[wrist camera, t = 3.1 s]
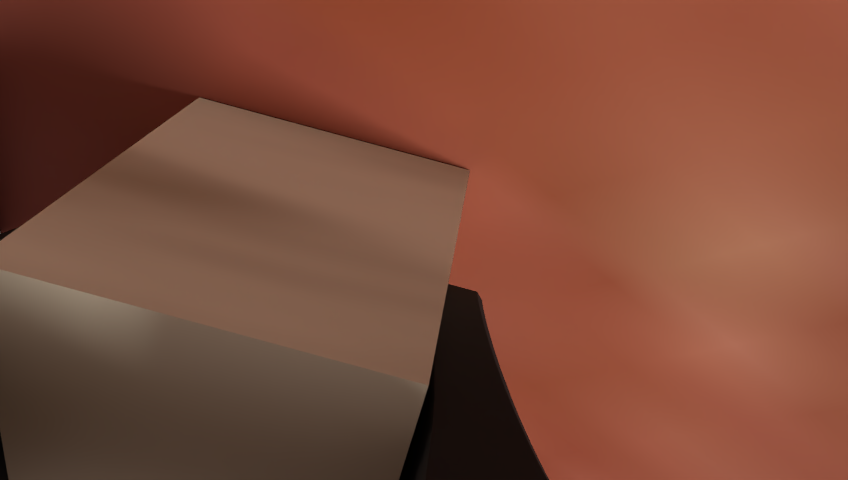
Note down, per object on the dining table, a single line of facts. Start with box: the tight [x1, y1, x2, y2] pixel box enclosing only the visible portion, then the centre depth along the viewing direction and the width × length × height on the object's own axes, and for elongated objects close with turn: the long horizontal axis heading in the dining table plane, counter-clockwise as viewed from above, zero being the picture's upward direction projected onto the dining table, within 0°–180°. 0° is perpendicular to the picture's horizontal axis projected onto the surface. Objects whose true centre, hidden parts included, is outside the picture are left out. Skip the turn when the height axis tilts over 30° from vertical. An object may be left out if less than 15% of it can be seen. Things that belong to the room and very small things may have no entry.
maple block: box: [0, 98, 470, 480], centre depth 9 cm, size 4×4×5 cm
